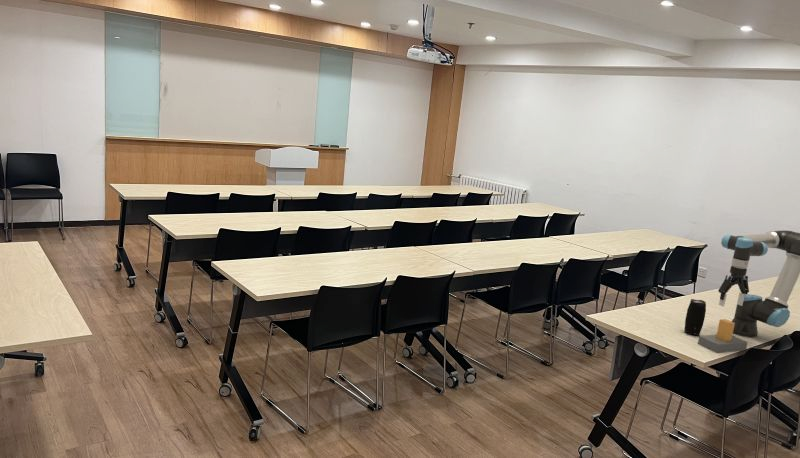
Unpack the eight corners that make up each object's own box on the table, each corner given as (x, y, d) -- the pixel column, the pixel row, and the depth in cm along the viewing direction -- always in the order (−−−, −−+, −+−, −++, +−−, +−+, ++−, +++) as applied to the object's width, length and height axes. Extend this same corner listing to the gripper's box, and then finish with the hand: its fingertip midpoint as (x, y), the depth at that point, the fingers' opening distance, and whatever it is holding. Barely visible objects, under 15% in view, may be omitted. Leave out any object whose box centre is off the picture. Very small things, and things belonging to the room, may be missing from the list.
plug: (714, 343, 322) (719, 319, 319) (719, 343, 323) (725, 319, 320) (724, 348, 316) (729, 323, 313) (729, 347, 318) (734, 323, 315)
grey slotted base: (697, 343, 321) (699, 335, 320) (726, 341, 329) (728, 333, 329) (716, 352, 310) (718, 344, 309) (745, 350, 319) (747, 342, 318)
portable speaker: (699, 337, 331) (705, 304, 327) (681, 332, 336) (687, 300, 332) (702, 334, 337) (709, 301, 333) (684, 329, 343) (691, 297, 339)
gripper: (728, 269, 303) (719, 308, 307) (762, 268, 312) (753, 306, 316) (716, 265, 309) (707, 303, 314) (749, 264, 319) (740, 302, 323)
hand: (730, 305), depth 315 cm, fingers open, 13 cm apart
